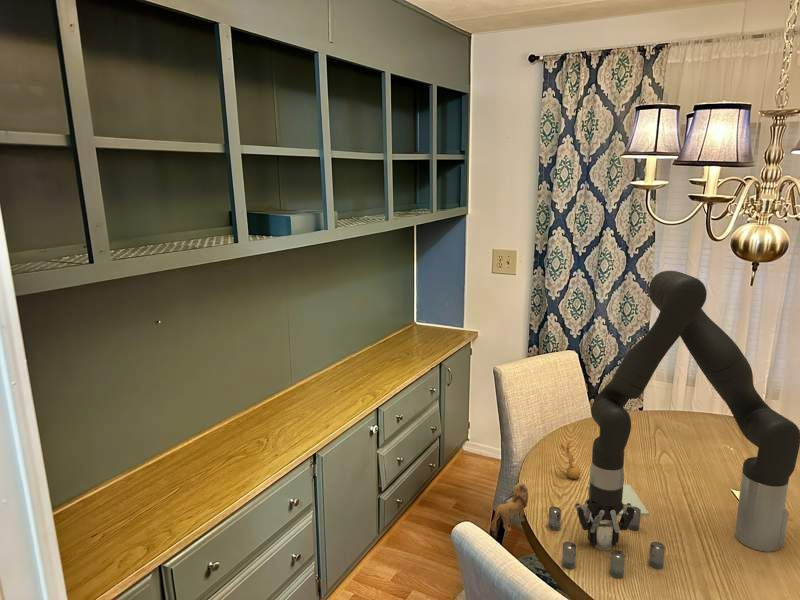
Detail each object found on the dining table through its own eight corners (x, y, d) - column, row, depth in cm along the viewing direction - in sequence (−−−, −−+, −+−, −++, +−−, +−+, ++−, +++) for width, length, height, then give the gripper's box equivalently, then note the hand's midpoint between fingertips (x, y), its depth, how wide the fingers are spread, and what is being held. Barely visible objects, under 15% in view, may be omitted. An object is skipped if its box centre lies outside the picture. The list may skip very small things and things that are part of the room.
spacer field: (632, 516, 145) (633, 499, 144) (671, 578, 122) (673, 559, 121) (544, 516, 146) (545, 499, 145) (567, 578, 123) (568, 558, 122)
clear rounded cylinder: (608, 539, 136) (609, 517, 135) (614, 550, 132) (616, 528, 130) (590, 539, 136) (591, 517, 135) (596, 550, 132) (597, 528, 131)
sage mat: (629, 486, 159) (629, 484, 158) (648, 515, 145) (649, 513, 145) (587, 486, 159) (587, 484, 159) (603, 515, 145) (603, 513, 145)
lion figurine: (514, 507, 150) (515, 477, 148) (532, 514, 147) (533, 484, 145) (485, 533, 139) (486, 502, 137) (504, 542, 136) (504, 509, 134)
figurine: (581, 485, 159) (583, 448, 157) (560, 483, 161) (561, 446, 158) (578, 471, 167) (580, 435, 165) (558, 469, 169) (559, 433, 166)
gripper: (631, 471, 134) (626, 533, 137) (571, 472, 134) (568, 533, 138) (643, 488, 126) (638, 553, 130) (580, 489, 127) (577, 553, 131)
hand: (602, 543), depth 134 cm, fingers closed on clear rounded cylinder, 4 cm apart
